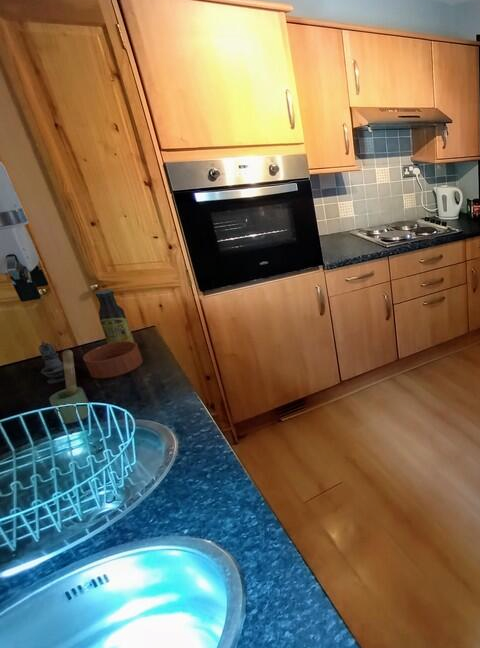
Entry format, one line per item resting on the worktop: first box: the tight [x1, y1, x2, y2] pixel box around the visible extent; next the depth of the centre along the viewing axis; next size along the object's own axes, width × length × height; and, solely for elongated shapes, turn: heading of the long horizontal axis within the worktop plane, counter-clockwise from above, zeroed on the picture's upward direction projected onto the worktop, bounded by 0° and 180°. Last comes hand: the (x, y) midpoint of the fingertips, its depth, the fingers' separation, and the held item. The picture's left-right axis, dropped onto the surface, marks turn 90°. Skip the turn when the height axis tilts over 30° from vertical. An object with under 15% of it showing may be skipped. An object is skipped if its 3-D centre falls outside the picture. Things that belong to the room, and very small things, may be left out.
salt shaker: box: [38, 341, 66, 385], centre depth 126 cm, size 6×6×12 cm
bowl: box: [82, 341, 144, 379], centre depth 132 cm, size 12×12×6 cm
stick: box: [61, 349, 78, 397], centre depth 110 cm, size 2×2×18 cm
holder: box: [48, 386, 90, 424], centre depth 111 cm, size 6×6×7 cm
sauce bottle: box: [95, 288, 135, 344], centre depth 140 cm, size 7×6×20 cm
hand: (35, 293), depth 103 cm, fingers open, 9 cm apart
